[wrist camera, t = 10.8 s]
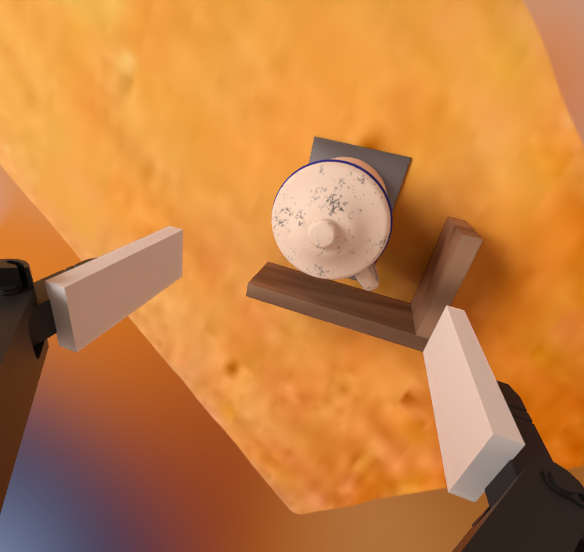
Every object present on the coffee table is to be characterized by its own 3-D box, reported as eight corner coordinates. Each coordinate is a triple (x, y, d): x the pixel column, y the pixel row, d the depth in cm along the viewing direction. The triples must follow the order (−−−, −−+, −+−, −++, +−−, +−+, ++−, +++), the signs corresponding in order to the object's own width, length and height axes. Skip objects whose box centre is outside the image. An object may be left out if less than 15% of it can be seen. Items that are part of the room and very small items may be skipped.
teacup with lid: (281, 185, 31) (232, 208, 21) (363, 133, 28) (351, 130, 17) (337, 282, 34) (317, 343, 24) (418, 247, 30) (436, 302, 20)
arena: (289, 131, 29) (269, 129, 24) (486, 174, 27) (511, 182, 21) (266, 273, 36) (246, 296, 31) (419, 319, 33) (426, 353, 28)
